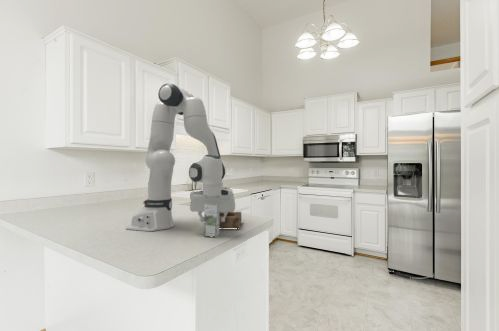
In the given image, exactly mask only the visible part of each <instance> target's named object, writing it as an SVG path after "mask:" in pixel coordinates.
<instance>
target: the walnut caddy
mask: <svg viewBox="0 0 499 331" xmlns="http://www.w3.org/2000/svg"><path fill="white" fill-rule="evenodd" d="M224 215H225V214H224V212H219V228H237V229H238V228H239V226H240V227H241V225H242V211H234V212H228V213H227V215H226V217H225V222H221V218H222V217H224ZM240 224H241V225H240ZM239 229H240V228H239Z"/></svg>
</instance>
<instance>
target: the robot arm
mask: <svg viewBox="0 0 499 331" xmlns="http://www.w3.org/2000/svg"><path fill="white" fill-rule="evenodd" d="M158 99H159V102H156V104H155V105H154V108H153V112H152V116H151V126H150V136H149V143H148V147H147V152H146V159H145V164H146V166H147V168H148V169H149V176H148V177H149V178H148V183H147V199H145V200H143V201H142V204H143V205H144V206H143V207H142V208H141V209H140V210H137V212H135V213H134V214H133V215H132V218H131V222H130V223H129V224H128V225H126V228H125V229H126V230H131V231H132V230H133V231H140V232H141V231H143V232H155V231H161V230H167V229H171V228H173V227H174V226H175V224H174V220H173V214H172V210H173V199H172V180H173V175H174V174H173V173H174V168H175V167H174V166H175V163H176V158H175V156H174V154H173V153H171V152H170V151H171V147H172V144H173V141H174V134H175V132H174V131H175V121H176V120H175V119H176V116H177V115H179V116H183V126H184V131H185V132H186V133H187V135H189V136H190V137H191V138H192V139H195V140H197V141H199V142H200V143H202V144H203V145H204V146H205V147H206V150H207V154H205V155H204V156H203V157H202V159H200V160H199V161H196V162H193V163H192V164H191V165H190V166H189V168H188V169H189V170H188V177H189V179H190V180H191V181H192V183H202V190H193V191H191V192H190V195H189V199H190V204H189V211H190V212H197V215H198V216H199V220H200V222H204V216H203V215H202V213H203V212H204V205H205V204H217V205H218V212H224V214H225V215H224V217H222V218H221V222H225V217H226V215H227V213H228V212H233V211H234V212H235V211H236V201H235V195H234V196H233V195H231V194H232V192H233V189H231V188H230V189H229V188H226V187H227V186H223V179H224V178H225V176H226V167H225V166H224V163H223V161H222V156H221V154H220V149H219V146H218V141H217V139H216V135H215V134H214V132H213V131H212V129H211V128H210V126H209V122H208V119H207V112H206V108H205V105H204V101H203V100H202V99H201V98H199V97H198V96H194V95H193V94H191V93H189V92H188V91H187V90H186V89H183V88H181V87H180V86H177V85H176V84H173V83H170V82H169V83H164V84H163V85H161V86H160V88H159V90H158ZM233 193H234V192H233Z"/></svg>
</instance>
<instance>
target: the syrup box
mask: <svg viewBox="0 0 499 331" xmlns="http://www.w3.org/2000/svg"><path fill="white" fill-rule="evenodd" d="M203 217H204V221H203V222H204V223H203V224H204V225H203V226H204V227H203V228H204V232H203V233H204V234H203V235H204V236H217V235H218V234H219V235H220V230H219V212H218V205H217V204H205V205H204V216H203ZM219 235H218V236H219ZM218 236H217V237H218Z"/></svg>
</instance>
